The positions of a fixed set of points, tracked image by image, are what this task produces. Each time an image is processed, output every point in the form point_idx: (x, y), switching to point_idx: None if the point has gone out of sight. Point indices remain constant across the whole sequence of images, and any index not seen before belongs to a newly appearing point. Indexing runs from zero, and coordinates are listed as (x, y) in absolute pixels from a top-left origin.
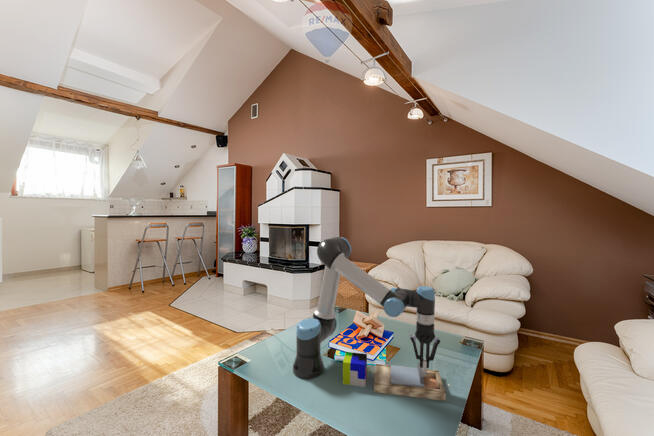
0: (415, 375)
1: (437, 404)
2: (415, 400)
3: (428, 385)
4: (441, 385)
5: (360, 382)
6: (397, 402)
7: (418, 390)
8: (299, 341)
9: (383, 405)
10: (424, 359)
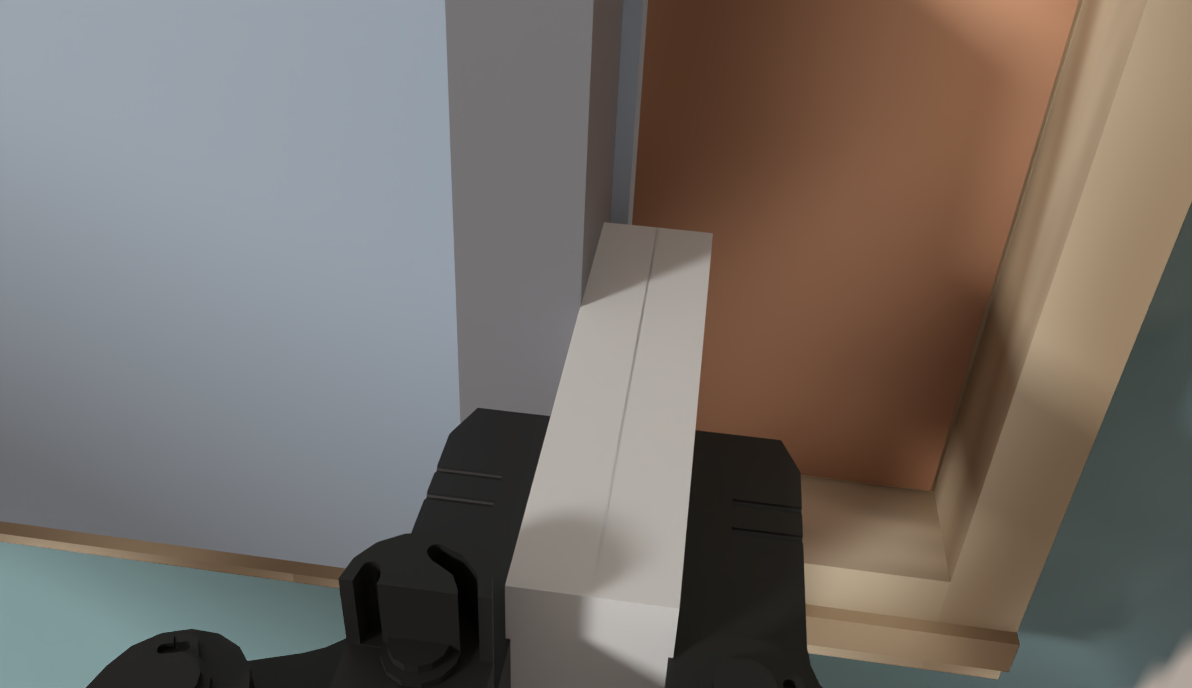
0: (412, 245)
1: None
2: None
3: (779, 207)
4: (1046, 460)
5: None
6: (182, 603)
7: None
8: None
9: (15, 650)
10: (602, 644)
